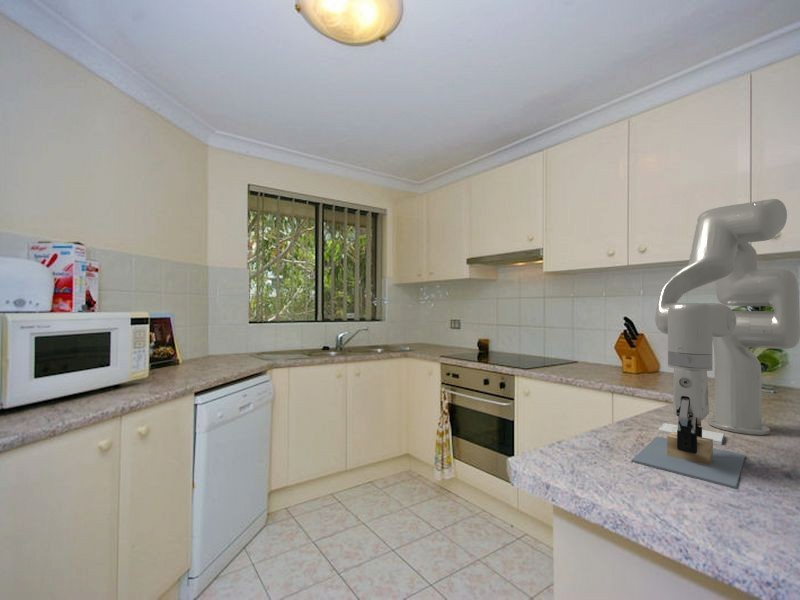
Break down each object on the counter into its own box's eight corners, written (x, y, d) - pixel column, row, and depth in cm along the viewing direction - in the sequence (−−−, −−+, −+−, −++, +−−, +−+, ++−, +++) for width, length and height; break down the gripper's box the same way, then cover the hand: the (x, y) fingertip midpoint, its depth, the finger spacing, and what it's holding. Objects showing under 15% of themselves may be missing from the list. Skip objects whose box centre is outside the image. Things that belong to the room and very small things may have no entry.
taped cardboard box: (713, 458, 79) (712, 438, 79) (709, 465, 76) (709, 444, 76) (672, 449, 84) (672, 430, 84) (667, 455, 81) (667, 435, 81)
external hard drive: (721, 447, 89) (658, 434, 98) (724, 439, 95) (664, 428, 104) (721, 440, 89) (658, 428, 98) (724, 433, 95) (664, 422, 104)
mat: (657, 438, 93) (657, 436, 93) (745, 456, 82) (745, 454, 82) (631, 461, 78) (631, 459, 78) (735, 488, 66) (735, 486, 66)
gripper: (706, 367, 72) (706, 464, 71) (717, 360, 84) (718, 443, 83) (658, 362, 77) (659, 453, 77) (676, 356, 89) (676, 434, 89)
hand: (689, 446), depth 80 cm, fingers open, 5 cm apart
